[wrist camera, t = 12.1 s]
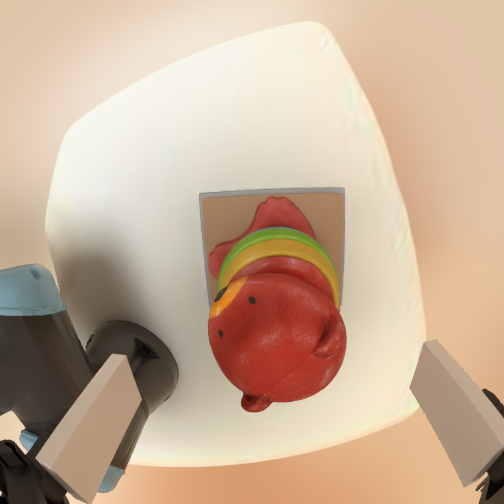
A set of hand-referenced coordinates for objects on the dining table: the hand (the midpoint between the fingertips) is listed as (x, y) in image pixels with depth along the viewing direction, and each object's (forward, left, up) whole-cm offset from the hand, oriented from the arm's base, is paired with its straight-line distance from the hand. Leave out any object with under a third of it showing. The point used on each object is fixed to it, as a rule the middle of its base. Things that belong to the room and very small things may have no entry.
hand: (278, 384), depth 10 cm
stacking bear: (0, 0, -18) cm, 18 cm away
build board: (0, 0, -22) cm, 22 cm away
